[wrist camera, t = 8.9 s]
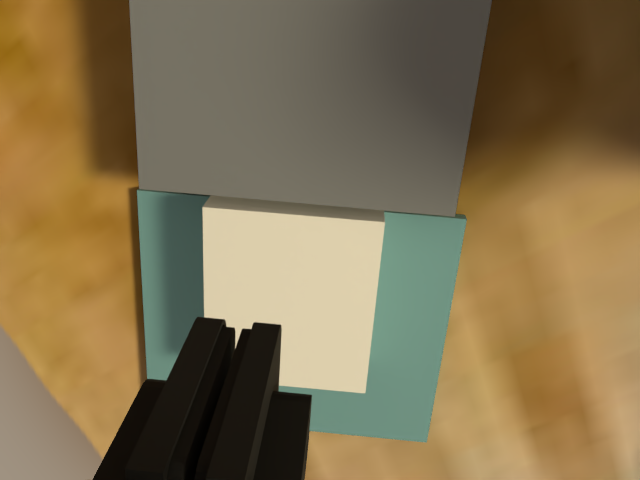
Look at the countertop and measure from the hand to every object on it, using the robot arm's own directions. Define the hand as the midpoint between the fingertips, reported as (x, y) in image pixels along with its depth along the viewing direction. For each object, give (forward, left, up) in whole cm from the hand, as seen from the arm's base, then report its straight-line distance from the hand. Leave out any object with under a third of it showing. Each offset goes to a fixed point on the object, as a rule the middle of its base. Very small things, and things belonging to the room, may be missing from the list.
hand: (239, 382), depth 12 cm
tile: (+5, 0, -14) cm, 15 cm away
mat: (+7, 0, -15) cm, 16 cm away
